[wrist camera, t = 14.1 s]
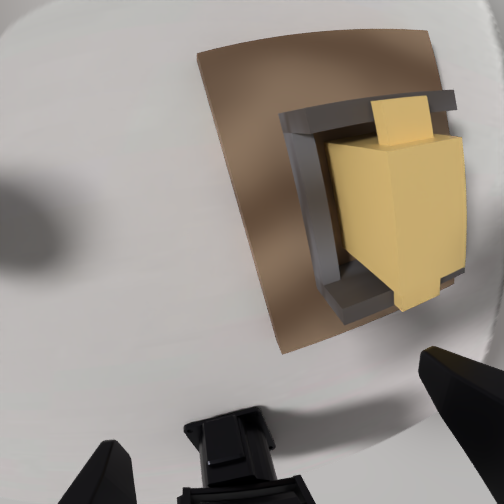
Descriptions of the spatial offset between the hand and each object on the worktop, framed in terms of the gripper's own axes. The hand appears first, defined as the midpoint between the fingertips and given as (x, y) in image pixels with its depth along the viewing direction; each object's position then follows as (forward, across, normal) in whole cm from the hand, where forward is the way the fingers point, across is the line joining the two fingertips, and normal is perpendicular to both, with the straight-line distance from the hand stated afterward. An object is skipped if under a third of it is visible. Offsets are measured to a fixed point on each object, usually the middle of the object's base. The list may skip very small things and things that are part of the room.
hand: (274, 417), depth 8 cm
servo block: (+10, -8, -2) cm, 13 cm away
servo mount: (+12, -8, -2) cm, 15 cm away
